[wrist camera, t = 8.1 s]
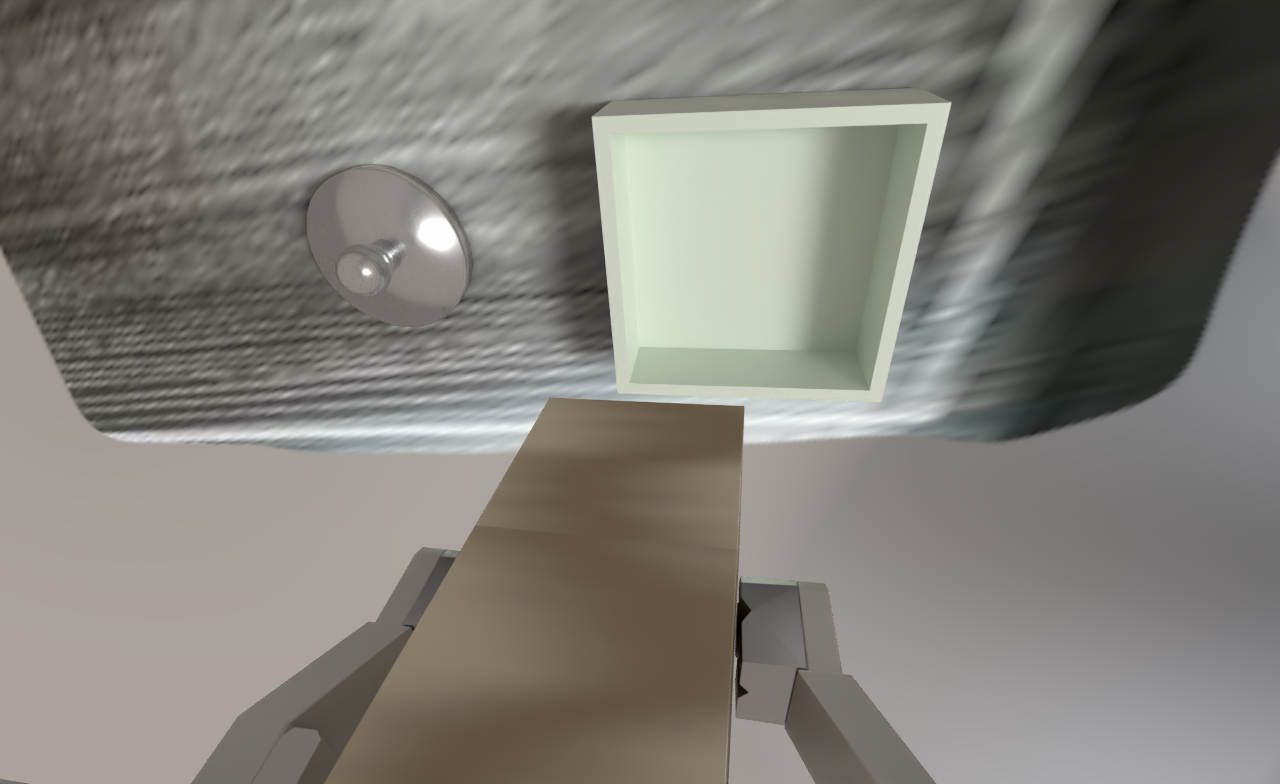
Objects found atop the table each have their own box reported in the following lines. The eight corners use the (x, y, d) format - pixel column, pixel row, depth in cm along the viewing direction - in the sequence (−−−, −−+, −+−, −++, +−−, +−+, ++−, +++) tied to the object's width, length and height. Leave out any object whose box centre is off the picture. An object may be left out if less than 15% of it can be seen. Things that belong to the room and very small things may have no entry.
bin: (611, 100, 23) (591, 117, 20) (918, 87, 21) (951, 102, 18) (630, 351, 30) (617, 393, 27) (864, 356, 28) (881, 402, 25)
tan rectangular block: (744, 405, 12) (712, 1024, 4) (739, 548, 14) (713, 1109, 7) (550, 398, 13) (252, 906, 5) (575, 533, 15) (392, 1017, 8)
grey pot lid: (352, 126, 25) (292, 145, 22) (500, 241, 27) (467, 275, 24) (298, 253, 29) (240, 286, 26) (431, 344, 31) (394, 386, 28)
